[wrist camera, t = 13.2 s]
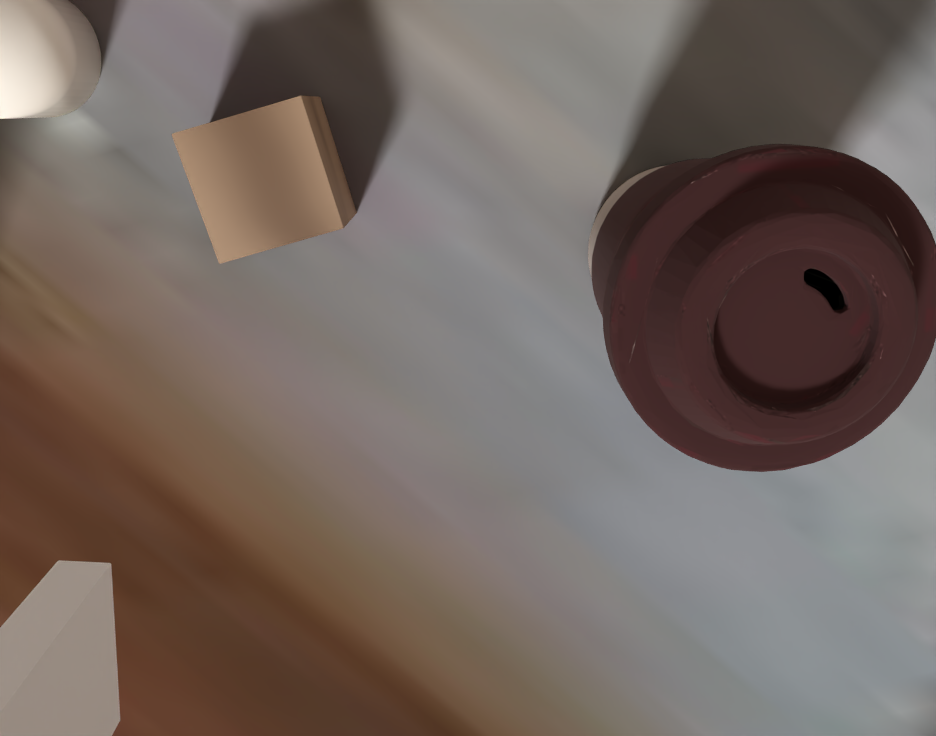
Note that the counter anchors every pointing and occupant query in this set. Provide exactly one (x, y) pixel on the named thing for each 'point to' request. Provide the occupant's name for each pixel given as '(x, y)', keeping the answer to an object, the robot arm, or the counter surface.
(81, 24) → the white cylinder
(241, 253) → the wooden cube
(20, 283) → the counter surface
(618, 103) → the counter surface
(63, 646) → the robot arm
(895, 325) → the coffee cup
